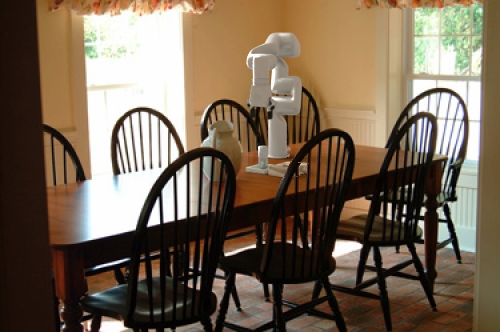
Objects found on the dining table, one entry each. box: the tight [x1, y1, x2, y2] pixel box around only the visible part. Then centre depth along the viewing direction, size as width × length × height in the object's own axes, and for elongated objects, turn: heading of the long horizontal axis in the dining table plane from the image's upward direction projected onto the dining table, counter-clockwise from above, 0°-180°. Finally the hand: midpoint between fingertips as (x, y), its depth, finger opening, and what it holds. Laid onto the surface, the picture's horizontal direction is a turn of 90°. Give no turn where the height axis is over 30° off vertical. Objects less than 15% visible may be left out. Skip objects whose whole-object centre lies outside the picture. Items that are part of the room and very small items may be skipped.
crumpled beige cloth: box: [268, 160, 308, 178], centre depth 343 cm, size 16×12×4 cm
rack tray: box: [245, 163, 274, 175], centre depth 351 cm, size 13×11×2 cm
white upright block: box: [257, 145, 269, 169], centre depth 350 cm, size 4×4×11 cm
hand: (261, 118), depth 349 cm, fingers open, 9 cm apart
